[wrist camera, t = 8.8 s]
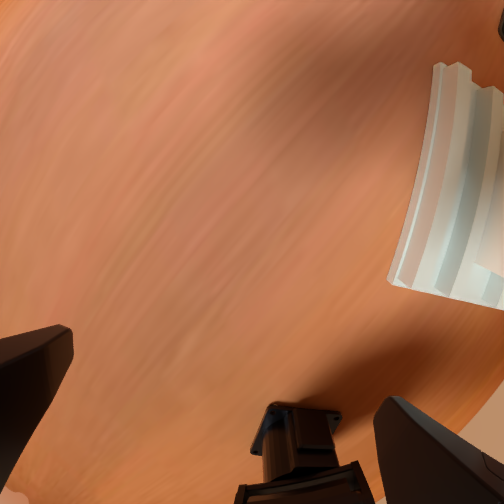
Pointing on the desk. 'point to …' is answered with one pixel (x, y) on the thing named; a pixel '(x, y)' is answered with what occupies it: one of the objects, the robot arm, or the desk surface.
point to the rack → (453, 192)
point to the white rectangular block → (494, 224)
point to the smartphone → (501, 27)
